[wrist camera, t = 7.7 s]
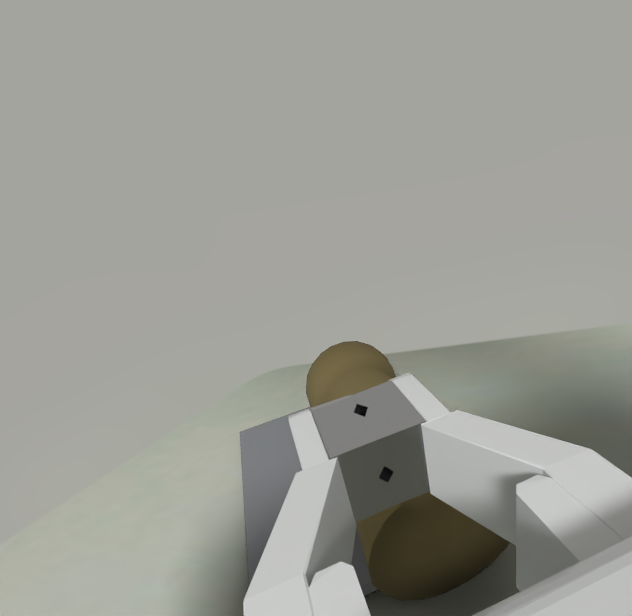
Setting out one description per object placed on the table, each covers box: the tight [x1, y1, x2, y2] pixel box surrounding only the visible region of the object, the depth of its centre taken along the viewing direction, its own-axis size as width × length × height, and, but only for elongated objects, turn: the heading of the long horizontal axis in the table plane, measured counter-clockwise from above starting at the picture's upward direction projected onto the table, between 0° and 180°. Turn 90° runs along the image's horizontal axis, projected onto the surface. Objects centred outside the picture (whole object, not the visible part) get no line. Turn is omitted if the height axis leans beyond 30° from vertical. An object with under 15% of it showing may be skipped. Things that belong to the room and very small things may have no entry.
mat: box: [240, 407, 378, 596], centre depth 18 cm, size 10×11×1 cm
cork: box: [306, 341, 509, 600], centre depth 16 cm, size 6×6×11 cm
